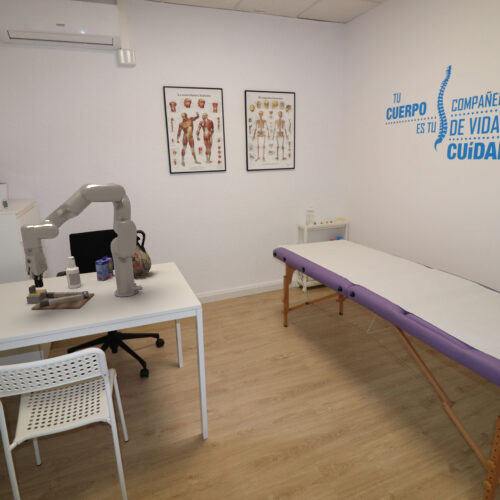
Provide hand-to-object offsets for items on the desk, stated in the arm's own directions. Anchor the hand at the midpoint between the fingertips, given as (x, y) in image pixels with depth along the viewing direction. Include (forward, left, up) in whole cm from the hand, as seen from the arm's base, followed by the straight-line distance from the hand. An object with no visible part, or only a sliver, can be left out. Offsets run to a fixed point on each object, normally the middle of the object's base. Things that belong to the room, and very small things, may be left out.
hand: (39, 287), depth 173 cm
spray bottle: (+1, -35, -13) cm, 37 cm away
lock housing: (+11, -15, -13) cm, 23 cm away
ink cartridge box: (-12, -49, -13) cm, 52 cm away
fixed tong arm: (-3, -16, -12) cm, 20 cm away
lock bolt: (+11, -15, -9) cm, 20 cm away
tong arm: (-6, -10, -12) cm, 17 cm away
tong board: (-4, -12, -13) cm, 18 cm away
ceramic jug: (-33, -52, -13) cm, 63 cm away
